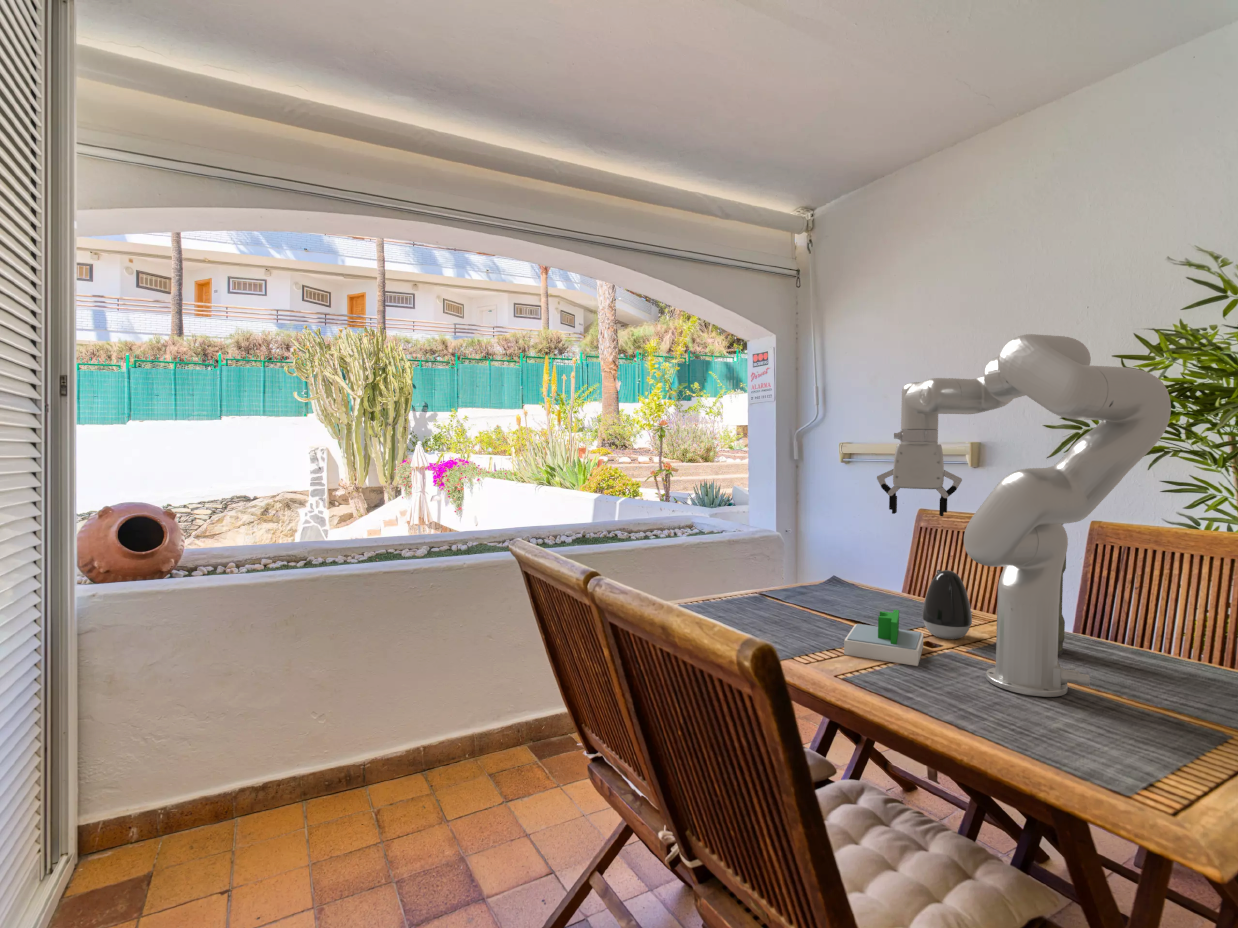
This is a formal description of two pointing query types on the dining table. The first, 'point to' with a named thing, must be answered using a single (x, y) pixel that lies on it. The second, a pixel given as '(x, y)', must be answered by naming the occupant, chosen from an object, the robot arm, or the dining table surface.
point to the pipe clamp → (888, 626)
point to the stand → (884, 645)
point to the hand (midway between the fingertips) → (917, 514)
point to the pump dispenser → (947, 606)
